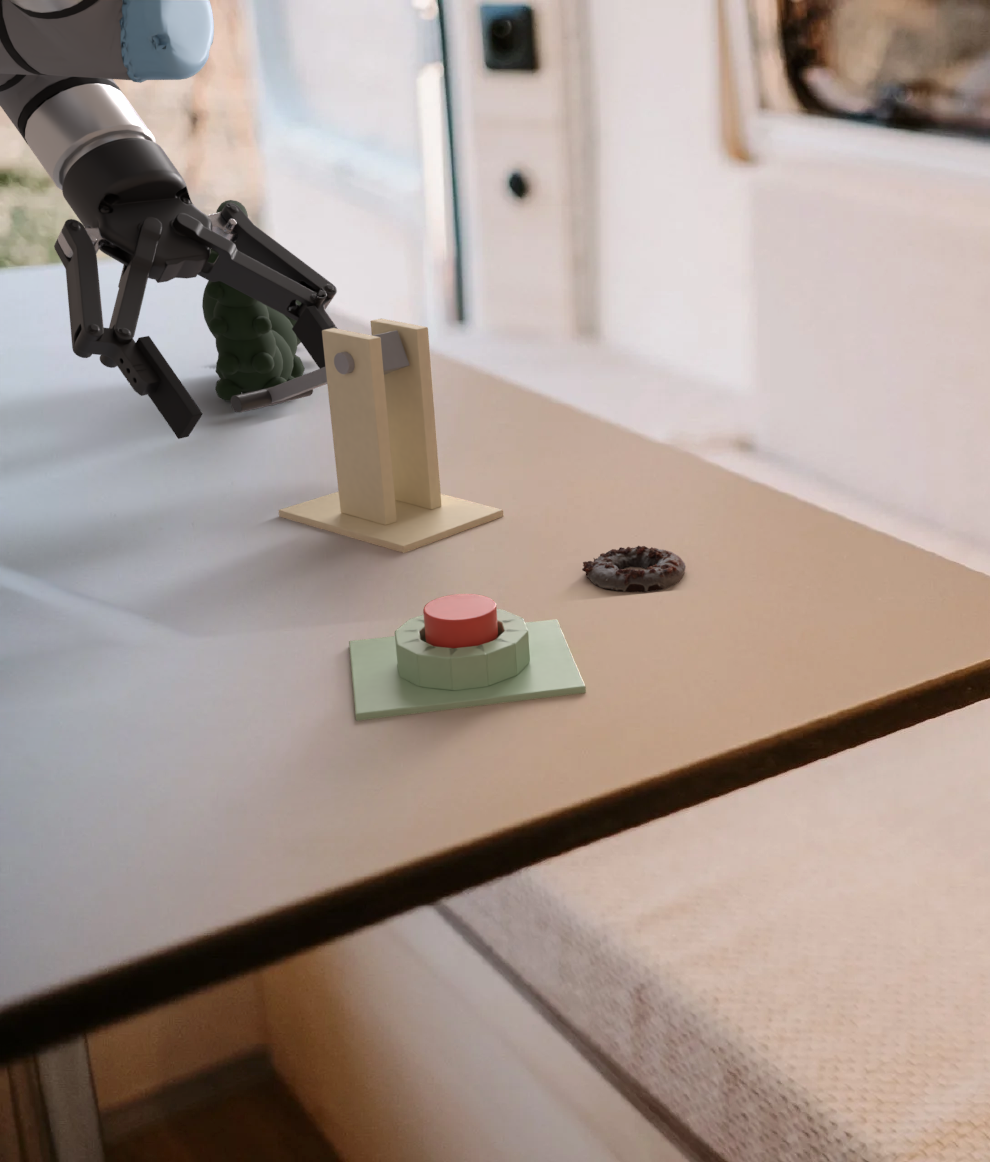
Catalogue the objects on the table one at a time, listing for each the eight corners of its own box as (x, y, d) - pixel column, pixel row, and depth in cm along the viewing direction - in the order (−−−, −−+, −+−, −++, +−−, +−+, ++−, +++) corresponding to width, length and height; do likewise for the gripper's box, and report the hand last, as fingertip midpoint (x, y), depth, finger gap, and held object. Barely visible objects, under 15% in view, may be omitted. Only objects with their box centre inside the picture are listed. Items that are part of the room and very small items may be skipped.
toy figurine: (313, 437, 125) (321, 347, 147) (288, 216, 117) (300, 154, 138) (194, 442, 123) (220, 350, 144) (159, 216, 114) (192, 154, 135)
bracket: (280, 527, 100) (255, 327, 95) (383, 494, 107) (365, 306, 102) (404, 564, 94) (386, 353, 89) (504, 527, 101) (492, 329, 96)
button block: (359, 754, 71) (351, 679, 69) (352, 677, 78) (345, 609, 77) (587, 725, 74) (584, 653, 73) (559, 654, 82) (555, 588, 81)
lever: (237, 422, 101) (224, 389, 101) (308, 405, 106) (296, 373, 105) (361, 376, 93) (347, 340, 93) (431, 360, 98) (419, 325, 97)
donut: (624, 555, 97) (623, 526, 96) (725, 577, 94) (725, 547, 93) (547, 597, 90) (545, 566, 89) (654, 621, 87) (653, 589, 86)
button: (428, 655, 73) (426, 623, 72) (423, 628, 76) (420, 597, 75) (502, 647, 74) (500, 615, 73) (493, 620, 77) (491, 590, 77)
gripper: (239, 188, 117) (388, 400, 115) (-84, 220, 97) (93, 477, 95) (276, 123, 112) (432, 343, 111) (-54, 142, 92) (131, 412, 91)
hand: (276, 406), depth 103 cm, fingers open, 13 cm apart
